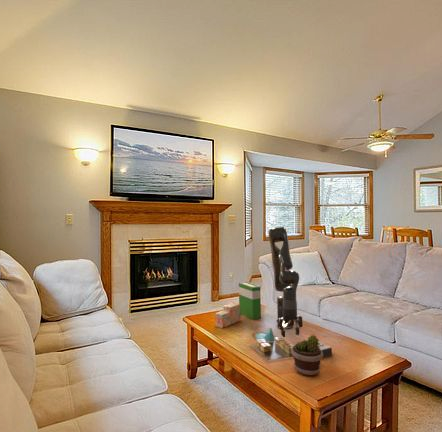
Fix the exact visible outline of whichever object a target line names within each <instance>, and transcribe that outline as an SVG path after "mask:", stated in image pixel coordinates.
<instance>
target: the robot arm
mask: <svg viewBox="0 0 442 432" xmlns="http://www.w3.org/2000/svg"><path fill="white" fill-rule="evenodd" d="M267 234H268V241H269V245H270V251H271V263H272V270H273V281H274V282H273V283H274V289H275V291H276V292H279V293H281V292H282V295H279V296H277V298H276V312H277V313H276V314H277V316H276V317H277V319H276V323H277V325H276V326H277V329H278V330H279V331H280V335H281V337H282V338H286V330H287V329H291V328H293V327H295V330H294V331H295V332H294V333H295V335H296V336H300V334H301V333H300V332H301V331H300V329H301V328H303V327H304V322H303V317H302V316H301V315H299V314H298V302H297V301H298V300H297V289H298V285H299V281H300V274H299V272H298V271H296V270H292V269H293V266H294V265H293V261H292V257H291V252H290V243H289V236H288V231H287V229H286V227H285V226H278V227H270V228H269V229H268V233H267ZM281 242H282V245H281V248H279V246H278V245H277V243H281Z"/></svg>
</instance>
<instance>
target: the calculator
mask: <svg viewBox="0 0 442 432" xmlns="http://www.w3.org/2000/svg"><path fill="white" fill-rule="evenodd" d="M301 341H302V342H303V341H304V340H301ZM301 341H298V342H297V343H299V342H300V343H302V342H301ZM318 347H320V350H321V351H322V352H323V354H324V355H323V358H326V357H329V356H332V355H333V348H332V347H331V346H329V345H326V344H324V343H321V342H319V344H318Z"/></svg>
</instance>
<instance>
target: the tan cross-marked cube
mask: <svg viewBox="0 0 442 432" xmlns="http://www.w3.org/2000/svg"><path fill="white" fill-rule="evenodd" d="M293 346H294V345H293V344H291V343H290V344H289V345H284V349H285V351H286V352H287V353H288V354H291V352H290V351H291V348H292V347H293Z"/></svg>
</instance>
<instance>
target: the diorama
mask: <svg viewBox="0 0 442 432" xmlns="http://www.w3.org/2000/svg"><path fill="white" fill-rule="evenodd" d="M273 333H274V332H273V330H272V327H269V330H267V331H266V333H256V334H255V335H254V338H255V339H256V340H258V339H264V340H265V341H269V342H274V341H275V336H274V334H273Z"/></svg>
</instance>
